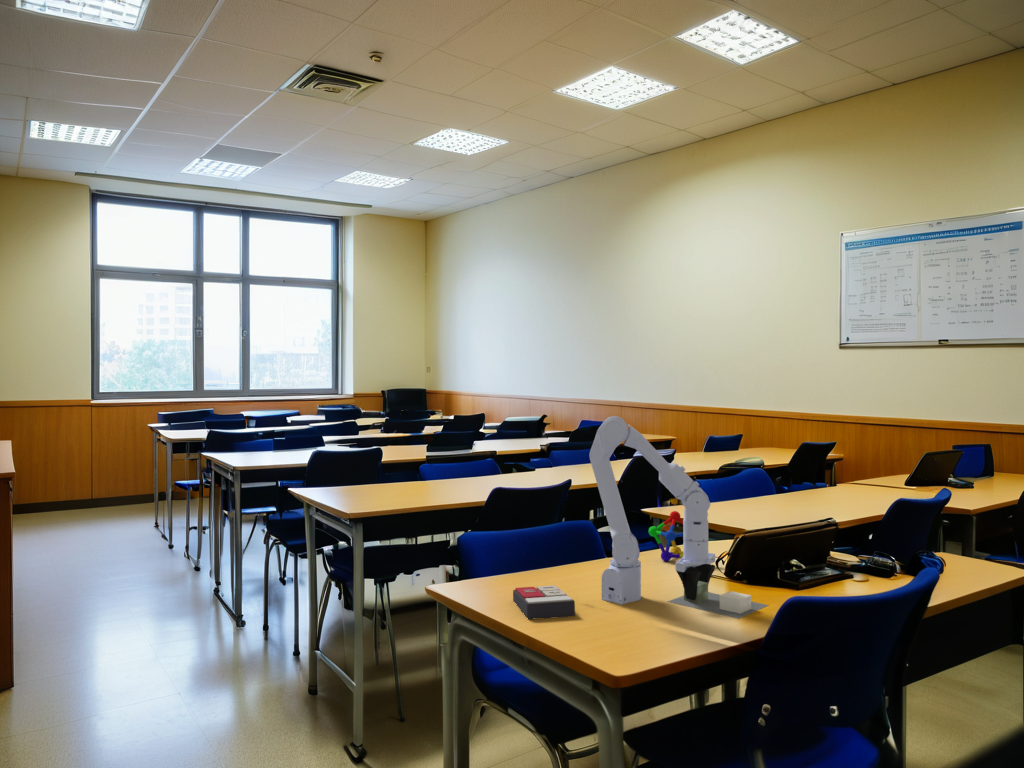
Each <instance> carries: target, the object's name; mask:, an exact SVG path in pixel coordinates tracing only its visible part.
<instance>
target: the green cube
mask: <svg viewBox="0 0 1024 768" xmlns="http://www.w3.org/2000/svg"><path fill="white" fill-rule="evenodd" d="M708 592H709V584H708V583H707V582H702V581H698V585H697V595H696V599H695V600H690V599H687V598H686V595H685V591H684V590H683V596H684V600H687V601H691V602H696V603H701V602H704V601H706V600H708Z"/></svg>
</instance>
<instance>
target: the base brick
mask: <svg viewBox="0 0 1024 768" xmlns="http://www.w3.org/2000/svg"><path fill="white" fill-rule="evenodd" d="M719 595H720V609H723V610H727V611H731V612H736V613H740V614H741V613H743V612H745V611H747V610H750V609H751V601H752V595H751V594H745V593H740V592H736V591H732V590H730V591H728V592H724V593H722V594H719Z"/></svg>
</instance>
